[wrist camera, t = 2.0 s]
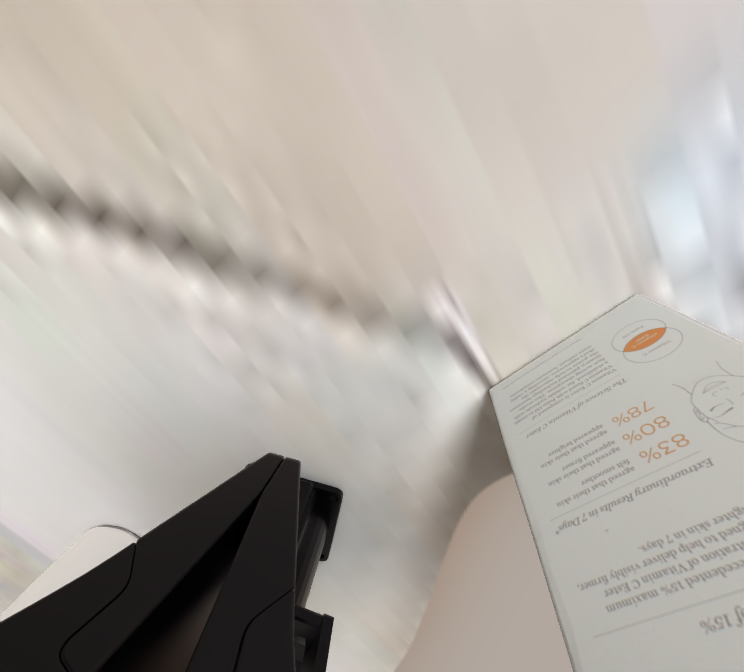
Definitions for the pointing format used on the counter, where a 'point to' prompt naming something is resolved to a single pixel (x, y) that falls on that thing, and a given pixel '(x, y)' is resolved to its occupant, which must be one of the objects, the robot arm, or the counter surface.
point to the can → (74, 563)
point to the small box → (636, 488)
